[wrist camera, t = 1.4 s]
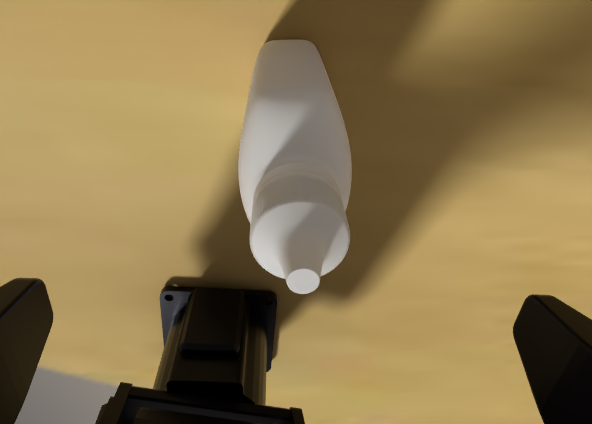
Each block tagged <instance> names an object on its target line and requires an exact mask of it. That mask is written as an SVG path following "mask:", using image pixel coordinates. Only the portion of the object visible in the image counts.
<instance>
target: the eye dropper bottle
mask: <svg viewBox="0 0 592 424" xmlns="http://www.w3.org/2000/svg"><path fill="white" fill-rule="evenodd" d="M238 173H239V186H240V193H241V198H242V202H243V206H244V209H245V212H246V215H247V218H248V220H249V222H250V224H251V227H250V238H249V240H250V245H251V247H250V249H251V250H252V253H253V254H254V257H255V258H256V261H257V262H259V265H261V266H262V268H264V269H265V270H266V271H268V272H269V273H271V274H273V275H275V276H277V277H280V278H283V279H286V282H287V285H288V287H289V289H290V290H292V291H293V292H295V293H298V294H307V293H310V292H312V291H314V290H315V289H316V288H317V287H318V286H319V283H320V277H321V276H322V275H325V274H326V273H328V272H330V271H331V270H333V269H334V268H335V267H337V265H338V264H340V263H341V261H342V260H343V258H344V257H345V256H346V253H347V252H348V248H349V244H350V239H351V238H350V235H351V234H350V229H349V225H348V221H347V217H346V213H345V212H346V209H347V205H348V202H349V196H350V191H351V181H352V163H351V152H350V145H349V140H348V135H347V131H346V127H345V123H344V120H343V117H342V114H341V111H340V108H339V105H338V102H337V99H336V96H335V94H334V91H333V88H332V86H331V83H330V80H329V78H328V75H327V72H326V70H325V67H324V64H323V62H322V59H321V57H320V54H319V52H318V50H317V48H316V46H315V45H314V44H313V43H312V42H310V41H307V40H272V41H269V42H266V43H265V44H264V45H263V46H262V48H261V49H260V52H259V54H258V57H257V60H256V63H255V66H254V70H253V75H252V80H251V85H250V90H249V96H248V101H247V106H246V112H245V117H244V122H243V128H242V134H241V141H240V149H239V162H238Z"/></svg>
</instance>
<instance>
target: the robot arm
mask: <svg viewBox="0 0 592 424" xmlns="http://www.w3.org/2000/svg"><path fill="white" fill-rule="evenodd" d="M168 294H169V295H172V296H168ZM266 299H271V300H270V301H267V300H266ZM160 305H161V317H162V328H163V339H164V351H163V354H162V358H161V362H160V365H159V369H158V372H157V376H156V379H155V383H154V387H153V389H149V388H142V387H136V386H133V384H130V383H123V382H121V383H120V385H119V387H118V389H117V392H116V394H115V396H114V397H110V399H109V401H108V403H107V404H105V405H102V407H101V410H100V412H99V415H98V418H97V420H96V423H95V424H305V422H304V418H303V413H302V409H300V408H293V407H290V409H286V408H279V407H272V406H266V405H265V400H266V372H268V371H269V370H270V369H271V361H272V351H273V340H274V330H275V319H276V309H277V295H276V294H275V293H274V292H272V291H263V290H242V289H220V288H199V287H177V286H167V287H164V288H163V289H162V291H161V294H160ZM52 323H53V311H52V307H51V304H50V300H49V297H48V293H47V290H46V286H45V284H44V282H43V281H42V280H41V279H38V278H16V279H14V280H12V281H10V282H8V283H6V284H4V285H3V286H1V287H0V424H14V423H15V421H16V419H17V416H18V414H19V412H20V410H21V408H22V406H23V403H24V400H25V398H26V395H27V392H28V390H29V387H30V385H31V382H32V379H33V376H34V373H35V371H36V368H37V365H38V363H39V360H40V357H41V354H42V351H43V349H44V346H45V343H46V340H47V338H48V335H49V332H50V329H51V326H52ZM513 336H514V340H515V343H516V346H517V348H518V351H519V354H520V357H521V360H522V363H523V366H524V369H525V372H526V375H527V378H528V381H529V384H530V387H531V390H532V393H533V396H534V399H535V402H536V404H537V407H538V410H539V412H540V415H541V417H542V420H543V422H544V424H592V320H591V319H590V318H588V317H586V316H585V315H583V314H581V313H580V312H578V311H577V310H575V309H573V308H572V307H570V306H568V305H567V304H565V303H564V302H562V301H560V300H559V299H557V298H555V297H554V296H551V295H529V296H528V297H527V298H526V299H525V301H524V303H523V305H522V308H521V310H520V312H519V314H518V316H517V319H516V321H515V323H514V327H513Z"/></svg>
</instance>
